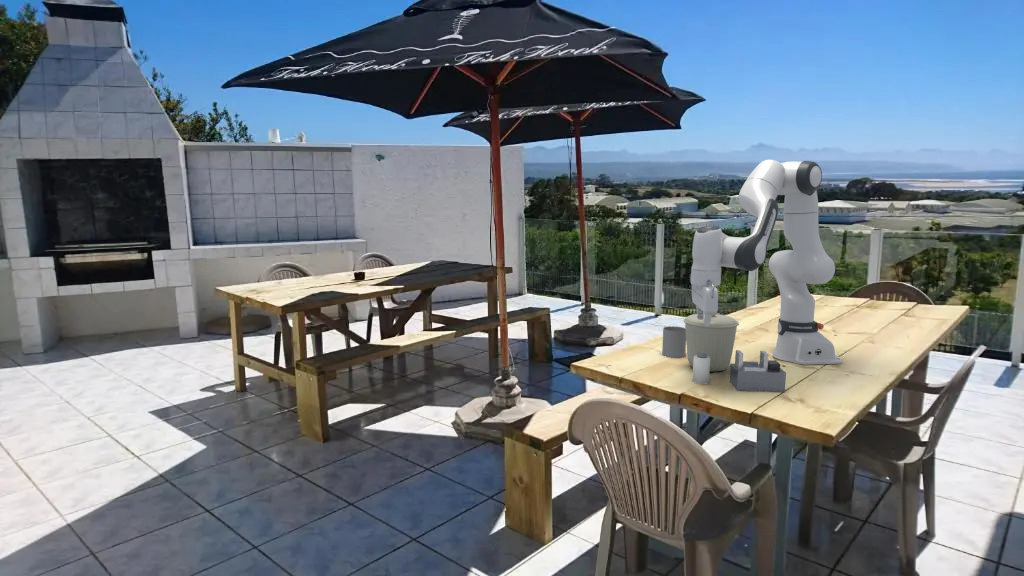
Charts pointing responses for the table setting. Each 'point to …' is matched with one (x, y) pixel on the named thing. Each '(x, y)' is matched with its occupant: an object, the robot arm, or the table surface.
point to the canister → (711, 339)
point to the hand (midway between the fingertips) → (703, 322)
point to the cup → (674, 342)
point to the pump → (701, 368)
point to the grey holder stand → (757, 374)
